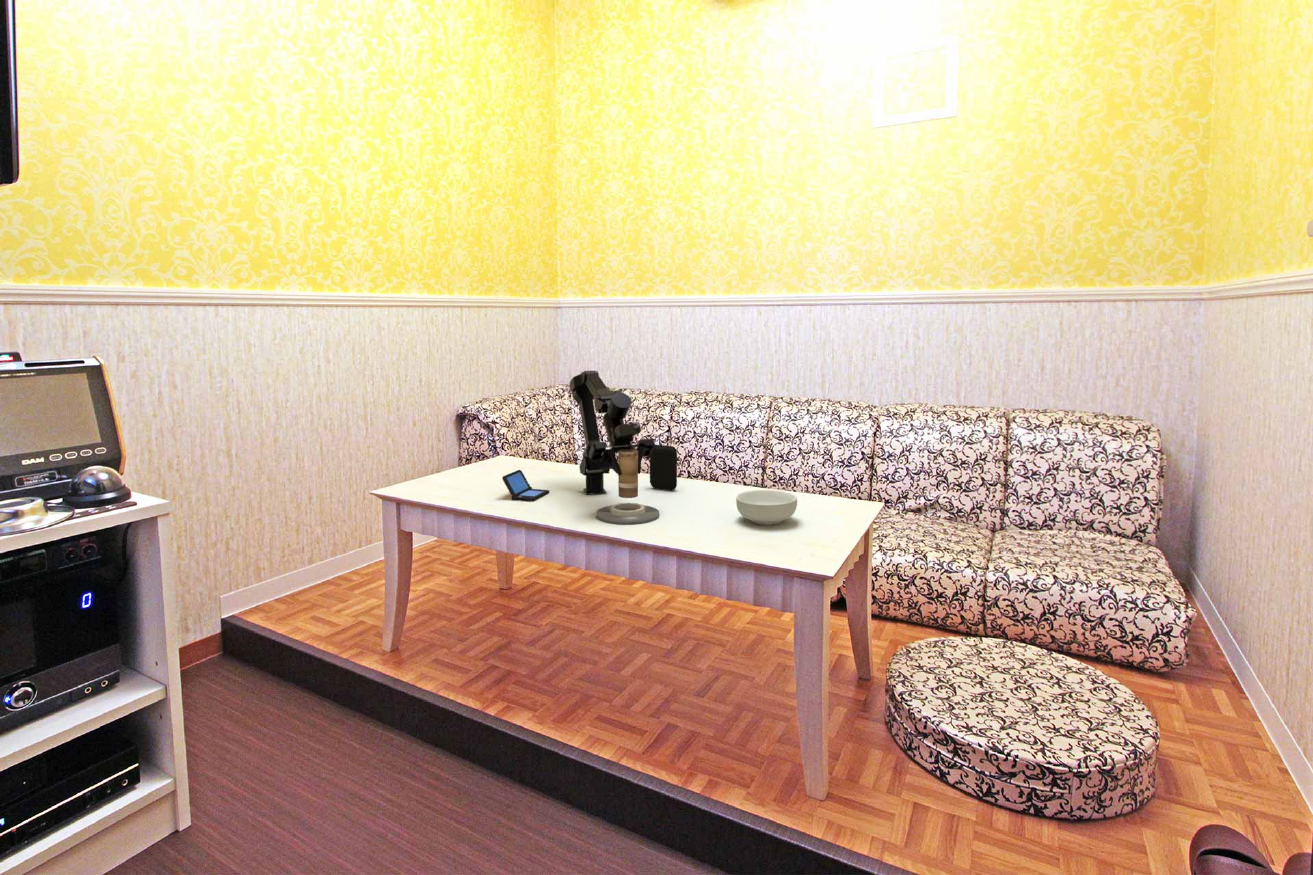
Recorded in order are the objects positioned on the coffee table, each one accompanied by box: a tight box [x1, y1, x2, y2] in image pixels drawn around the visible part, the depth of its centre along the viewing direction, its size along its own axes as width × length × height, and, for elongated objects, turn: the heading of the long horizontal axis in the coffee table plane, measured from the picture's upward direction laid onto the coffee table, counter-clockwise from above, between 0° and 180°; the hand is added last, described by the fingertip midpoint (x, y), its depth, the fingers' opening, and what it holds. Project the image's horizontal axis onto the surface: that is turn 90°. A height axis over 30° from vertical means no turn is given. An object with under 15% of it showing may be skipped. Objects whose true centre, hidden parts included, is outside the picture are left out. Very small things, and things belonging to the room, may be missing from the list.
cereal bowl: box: [735, 489, 798, 526], centre depth 201 cm, size 17×17×7 cm
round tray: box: [595, 502, 660, 526], centre depth 206 cm, size 18×18×2 cm
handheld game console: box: [502, 469, 550, 503], centre depth 228 cm, size 12×11×7 cm
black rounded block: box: [646, 444, 678, 492], centre depth 237 cm, size 11×3×15 cm, turn 62°
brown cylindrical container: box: [617, 449, 639, 499], centre depth 205 cm, size 6×6×13 cm
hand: (629, 473), depth 203 cm, fingers closed on brown cylindrical container, 5 cm apart
